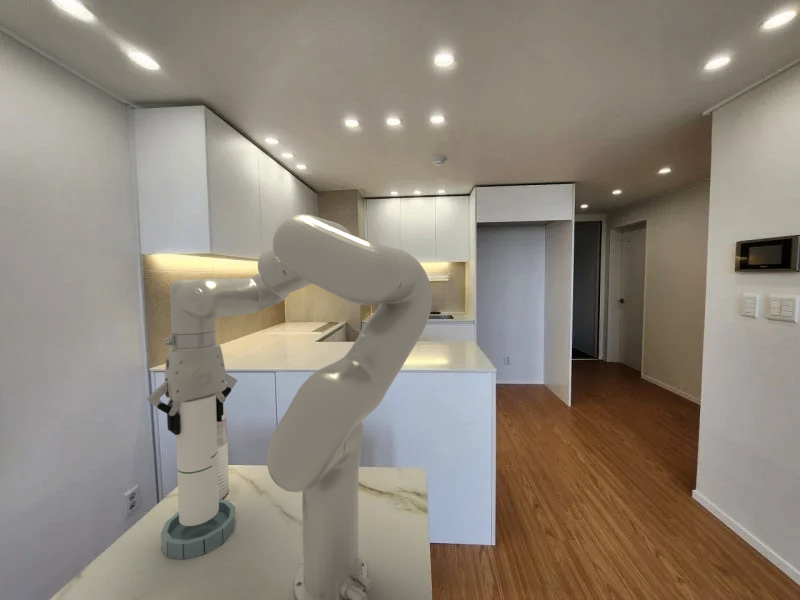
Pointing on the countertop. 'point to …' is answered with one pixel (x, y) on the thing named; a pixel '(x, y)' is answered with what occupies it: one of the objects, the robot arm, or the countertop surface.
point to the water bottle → (222, 456)
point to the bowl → (198, 533)
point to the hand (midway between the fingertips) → (197, 425)
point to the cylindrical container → (197, 461)
